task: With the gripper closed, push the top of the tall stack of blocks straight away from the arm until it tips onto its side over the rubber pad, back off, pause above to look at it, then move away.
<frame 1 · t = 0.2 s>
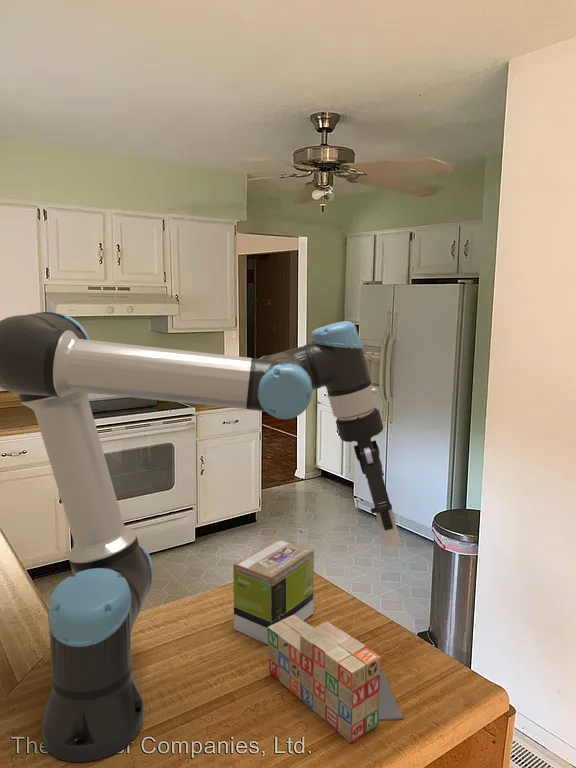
hand: (388, 528, 104), 28 cm above the kitchen counter, tool tilted 15°, fingers open, 13 cm apart
tea box: (274, 623, 124), on the kitchen counter
stack of blocks: (320, 698, 101), on the kitchen counter, touching rubber pad
rubber pad: (372, 695, 102), on the kitchen counter
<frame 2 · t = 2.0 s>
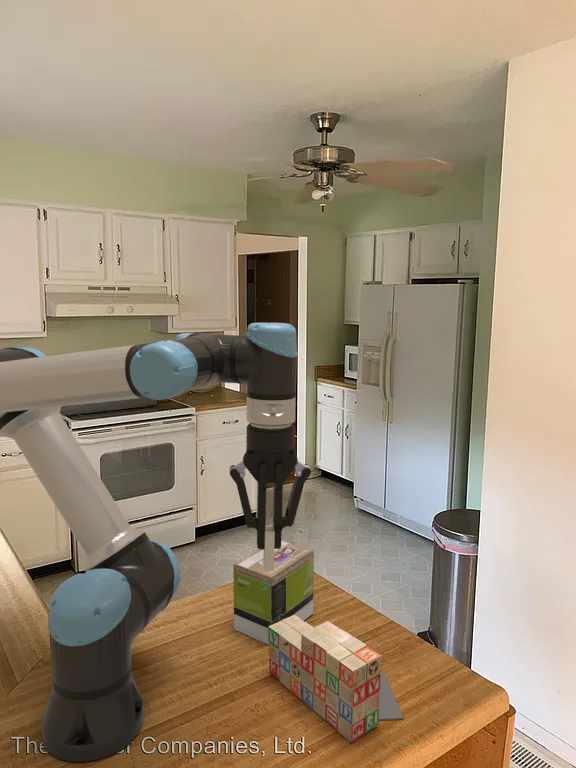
hand: (268, 566, 96), 24 cm above the kitchen counter, tool pointing down, fingers closed
nothing on the kitchen counter moved.
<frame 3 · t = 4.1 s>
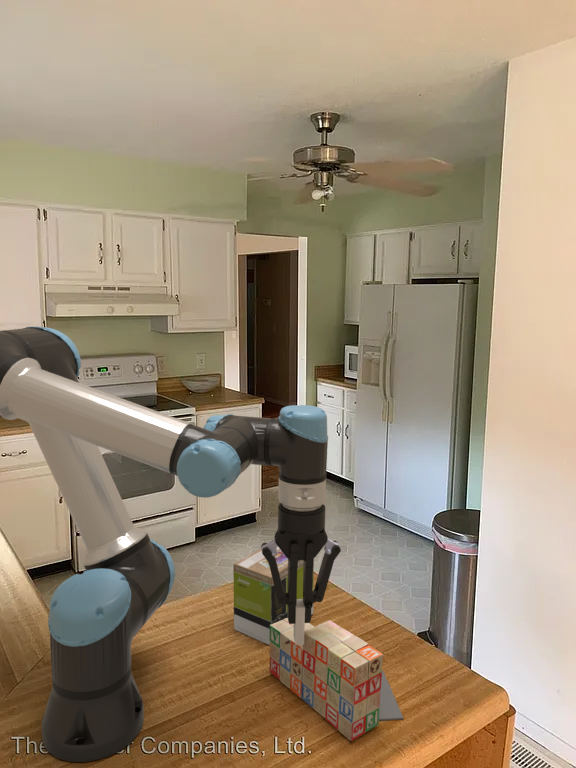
hand: (298, 639, 99), 11 cm above the kitchen counter, tool pointing down, fingers closed
stack of blocks: (320, 698, 101), on the kitchen counter, touching gripper, rubber pad
everything else where it was.
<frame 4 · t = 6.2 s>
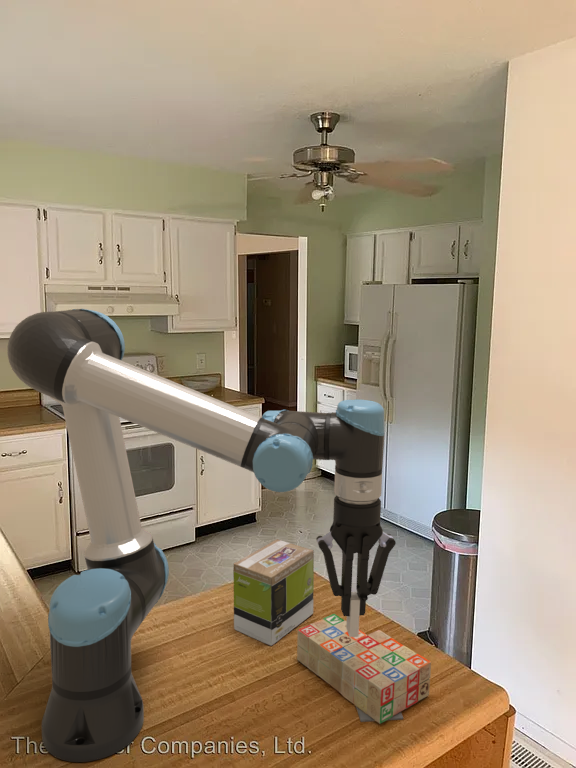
hand: (352, 632, 100), 12 cm above the kitchen counter, tool pointing down, fingers closed
stack of blocks: (334, 674, 103), point 3 cm above the kitchen counter, touching rubber pad
everything else where it was.
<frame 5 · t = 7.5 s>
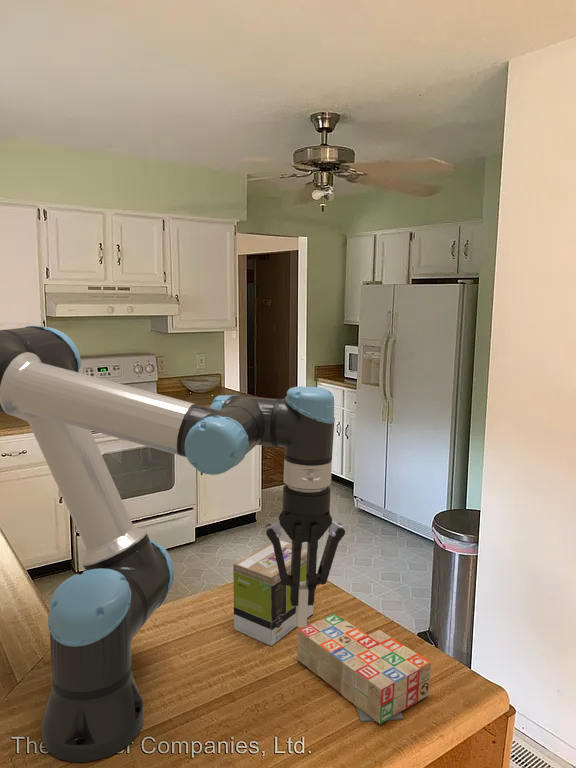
hand: (301, 622, 99), 14 cm above the kitchen counter, tool pointing down, fingers closed
nothing on the kitchen counter moved.
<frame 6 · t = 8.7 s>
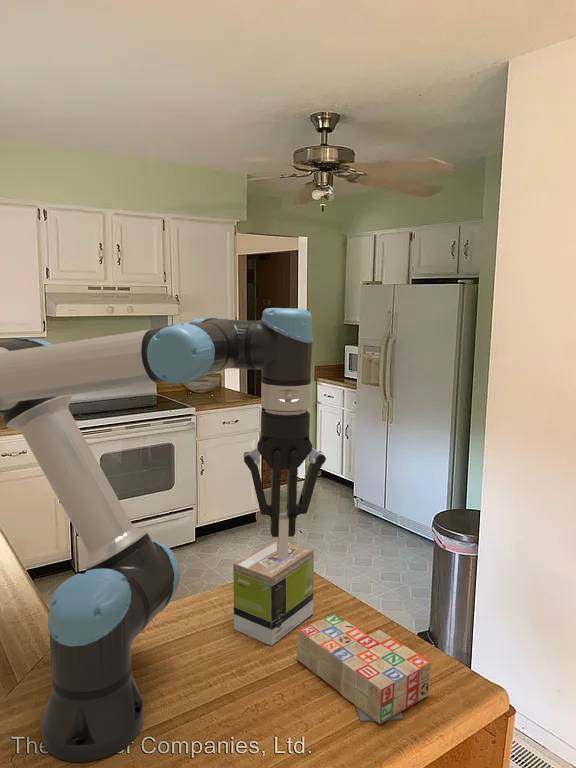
hand: (282, 554, 96), 26 cm above the kitchen counter, tool pointing down, fingers closed
nothing on the kitchen counter moved.
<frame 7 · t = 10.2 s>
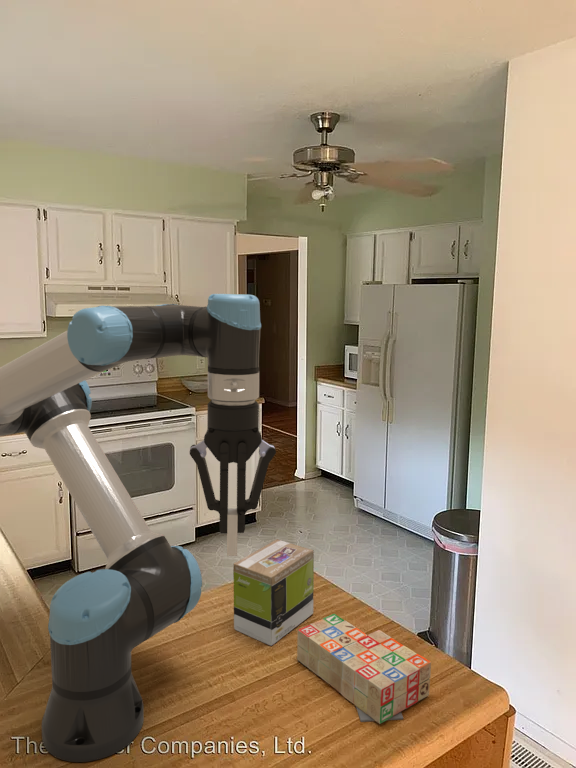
hand: (231, 552, 92), 28 cm above the kitchen counter, tool pointing down, fingers closed
nothing on the kitchen counter moved.
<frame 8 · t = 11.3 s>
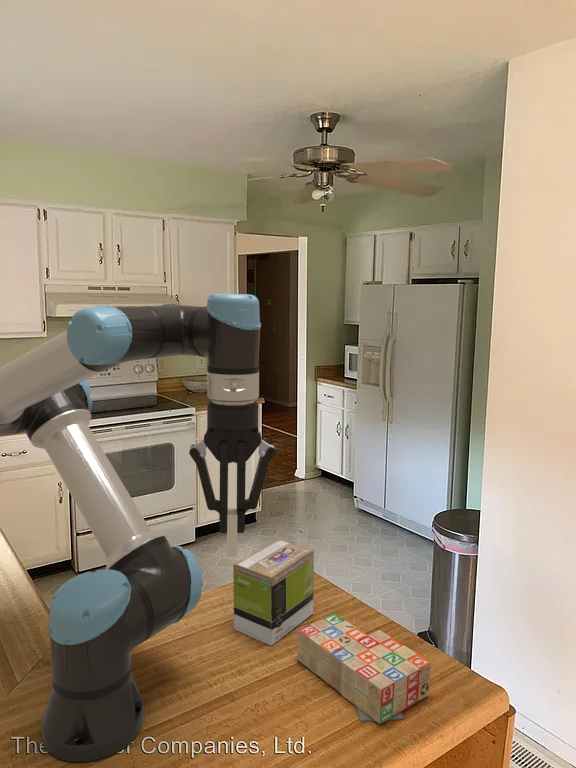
hand: (231, 552, 92), 28 cm above the kitchen counter, tool pointing down, fingers closed
nothing on the kitchen counter moved.
at the end: stack of blocks tilted 90°; stack of blocks inside the target area (2.2 cm from its centre), point 3.4 cm above the kitchen counter; the gripper is holding nothing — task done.
